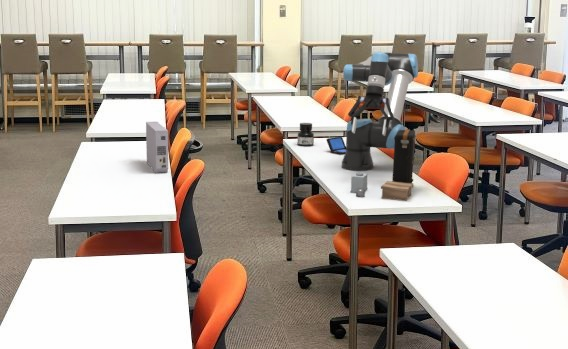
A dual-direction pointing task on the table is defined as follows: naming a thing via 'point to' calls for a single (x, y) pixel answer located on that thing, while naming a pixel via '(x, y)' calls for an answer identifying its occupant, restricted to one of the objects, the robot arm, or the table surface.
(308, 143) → the ink bottle
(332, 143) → the handheld game console
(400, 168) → the black carrying case
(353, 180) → the housing
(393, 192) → the stand
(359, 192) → the dark grey metallic dome
